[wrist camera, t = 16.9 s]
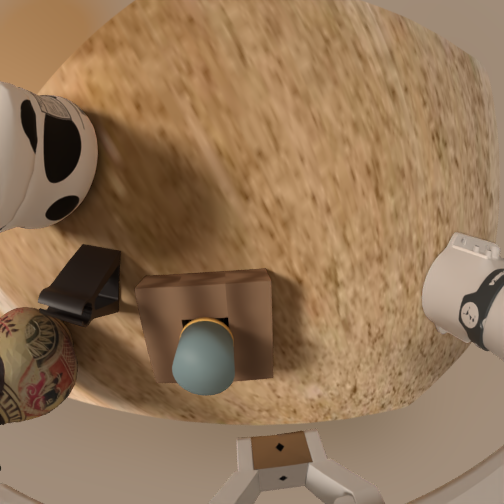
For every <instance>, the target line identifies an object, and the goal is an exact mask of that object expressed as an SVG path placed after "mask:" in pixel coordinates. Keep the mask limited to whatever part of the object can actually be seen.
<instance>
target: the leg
mask: <svg viewBox="0 0 504 504" xmlns="http://www.w3.org/2000/svg"><path fill="white" fill-rule="evenodd" d="M172 372H173V376H174V378H175V380H176V381H177V383H178V384H179V385H180V386H181V387H182V388H184V389H185V390H187V391H189V392H191V393H194V394H198V395H215V394H218V393H221V392H223V391H224V390H226V389H227V388H228V387H229V386H230V385H231V384H232V382H233V380H234V377H235V366H234V339H233V335H232V332H231V331H230V329H229V328H228V327H227V326H226V325H225V324H224V320H223V318H208V317H202V318H197V319H194V320H192V321H190V322H189V323H187V324H186V325H185V326H184V328H183V330H182V332H181V335H180V339H179V343H178V347H177V350H176V354H175V358H174V361H173V365H172Z"/></svg>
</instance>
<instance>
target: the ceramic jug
mask: <svg viewBox="0 0 504 504" xmlns="http://www.w3.org/2000/svg"><path fill="white" fill-rule="evenodd" d="M46 310H47V309H46ZM77 364H78V362H77V358H76V355H75V352H74V349H73V339H72V336H71V333H70V331H69V330H68V328H67V327H66V325H65V324H64V323H63V322H62V321H61V320H59V319H56V318H53V317H50V316H47V315H44V314H41V313H40V311H39V310H38V309H35V308H28V307H23V308H16V309H14V310H11V311H9V312H7V313H6V314H4V315H3V316H2V317H1V318H0V425H1V424H2V425H4V424H6V423H12V422H21V421H25V420H29V419H33V418H36V417H39V416H42V415H46V414H47V413H50V411H52V410H53V409H55V408H56V407H58V405H60V404H61V403H62V402H63V401H64V400H65V399H66V398H67V397H68V396H69V394H70V392H71V391H72V389H73V387H74V385H75V382H76V377H77V371H78V365H77ZM0 470H1V466H0Z"/></svg>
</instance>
